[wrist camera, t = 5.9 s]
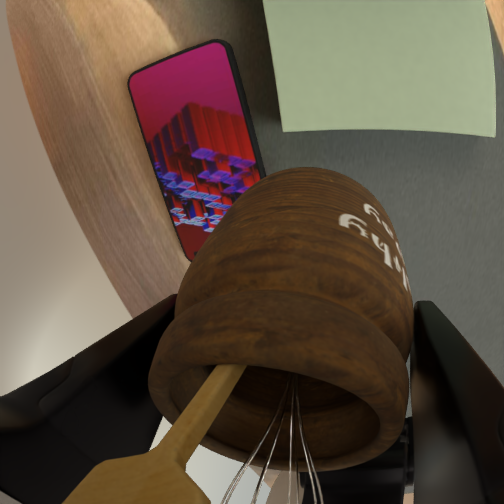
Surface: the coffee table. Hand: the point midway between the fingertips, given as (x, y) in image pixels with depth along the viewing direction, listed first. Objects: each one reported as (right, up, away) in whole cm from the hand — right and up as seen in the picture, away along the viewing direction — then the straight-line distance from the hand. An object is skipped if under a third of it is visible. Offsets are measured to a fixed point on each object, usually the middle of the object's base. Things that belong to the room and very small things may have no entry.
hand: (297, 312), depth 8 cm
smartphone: (-4, +8, +13) cm, 15 cm away
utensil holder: (+1, +2, +3) cm, 4 cm away
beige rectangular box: (+6, +16, +4) cm, 17 cm away
